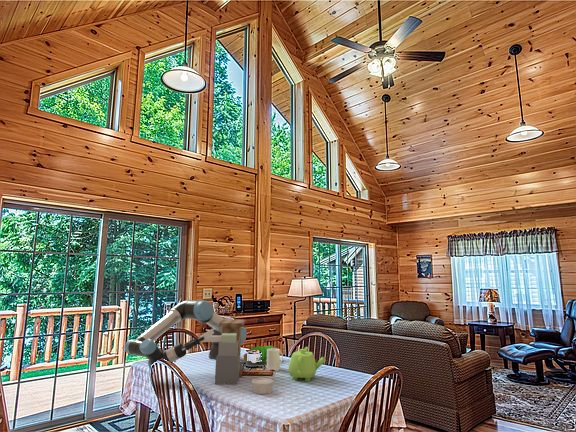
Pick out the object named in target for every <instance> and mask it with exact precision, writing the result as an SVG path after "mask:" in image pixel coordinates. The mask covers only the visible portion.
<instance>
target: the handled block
mask: <svg viewBox="0 0 576 432" xmlns="http://www.w3.org/2000/svg"><path fill="white" fill-rule="evenodd" d="M199 336H200V335H199ZM201 336H203V335H201ZM201 336H200V337H201ZM210 336H211V337H209V338H208V339H206V340H204V341H202V342H201V343H212V342H221V343H236V341H237V333H222V335H221V336H213V335H210Z"/></svg>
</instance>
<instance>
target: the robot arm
mask: <svg viewBox="0 0 576 432" xmlns="http://www.w3.org/2000/svg"><path fill="white" fill-rule="evenodd" d="M186 319H188V320H189V319H190V320H195V321H197V322H199V323H200V324H204V325H205V324H207V325H208V326H210V327H211V329H209V330H208V331H206V332H204V333H200V335H199V336H197V337H195V338H193V339H191V340H189V341H187V342H185V343H184V344H182V343H181V342H178V343H177V344H175V345H173V346H172V347H170V348H168V349H166V350H164V351H162V349H160V347H159V346H158V345H157V343H156V342H155V341H156V340H157V339H159V338H160V337H161V336H162V335H164V333H165V332H167V331H168V330H169V329H170V328H171V327H173V326H174V325H175V324H177V323H180V322H181V321H183V320H186ZM223 319H224V318H223V317H222V316H221V315H219V314H218V313H216V312H215V310H214V306H213V304H212V303H211V302H210V301H207V300H204V299H203V300H199V299H198V300H196V299H185V300H184V301H183V300H182V301H181V302H180V303H177V304H176V305H175V306H173V307H172V308H170V309H169V312H168V313H167V314H166V315H164V316H163V317H162V318H161V319H159V320H158V321H157V322H155V323H154V324H153V325H151V327H149V328H148V329H146V330H145V331H144V332H143V333H142V334H140V335H138V337H136V338H135V339H129V340H128V341H126V342H125V344H124V347H123V348H124V352H125V353H127V354H129V355H131V356H138V357H144V358H147V360H148V362H147V366H148V367H149V369H150V371H151V365H152V364H153V363H154V362H156V361H157V360H158V359H161V358H163V359H165V360H167V361H170V362H172V363H176V362H177V360H179V359H182V358H184V357H186V355H187V351H189V350H190V349H192V348H193V347H196V346H200V345H201V343H203V342H202V341H204V340H206V339H208V338H209V337H211V336H210V335H213V336H221V335H222V329H223V327H219V323H220V322H221V321H222V320H223ZM247 333H248V332H247V329H246V327H244V326H243V327H241V345H243V344H244V343H245V341H246V338H247ZM201 335H203V336H201ZM200 336H201V337H200ZM218 349H219V342H211V348H210V351H209V353H208V358H209V359H212V360H216V356H217V355H218Z"/></svg>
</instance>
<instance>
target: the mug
mask: <svg viewBox="0 0 576 432" xmlns="http://www.w3.org/2000/svg"><path fill="white" fill-rule="evenodd" d="M276 348H277V347H275V348H270V349H267V360H266V367H267V368H270V369H274V370H275V371H274V372H278V371H280V370H281V368H280V367H281V366H280V365H281V363H282V361H283V359H284V354H283V353H282V351H281V349H279V348H277V349H276ZM280 355H281V357H280ZM280 358H281V359H280Z"/></svg>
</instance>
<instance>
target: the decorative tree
mask: <svg viewBox="0 0 576 432" xmlns="http://www.w3.org/2000/svg"><path fill="white" fill-rule="evenodd" d="M270 348H276V349H278V347H275V346H273V345H264V346H263V345H260V346H258V345H256V346H255V347H254V346H251V347H250V349H249V350H259V351H261V352H262V354H261V356H262V357H261V360H262V362H261V363H266V362H267V349H270ZM247 353H248V352H247ZM247 353H244V354H243V360H244V361H245V362H248V361H247Z"/></svg>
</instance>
